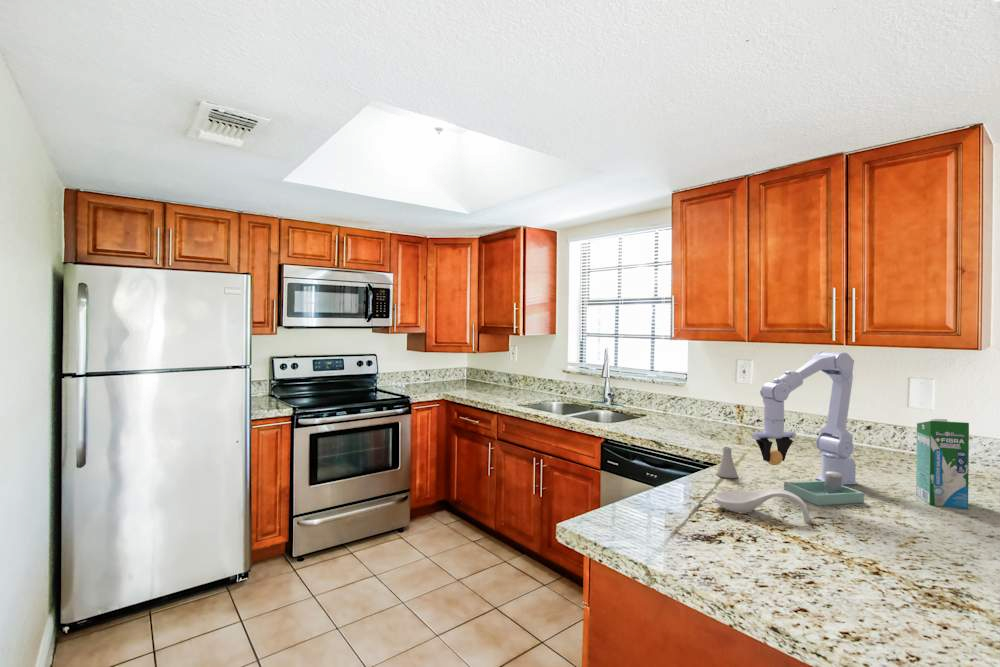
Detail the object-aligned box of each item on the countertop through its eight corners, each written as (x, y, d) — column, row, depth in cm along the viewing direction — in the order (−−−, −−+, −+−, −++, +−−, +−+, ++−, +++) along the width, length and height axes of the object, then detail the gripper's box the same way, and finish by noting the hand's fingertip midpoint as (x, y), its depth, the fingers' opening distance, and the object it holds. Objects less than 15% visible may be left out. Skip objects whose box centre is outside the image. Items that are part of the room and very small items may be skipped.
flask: (740, 479, 172) (741, 450, 172) (718, 478, 173) (718, 449, 173) (735, 473, 179) (735, 445, 179) (713, 472, 180) (714, 444, 180)
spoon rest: (712, 512, 140) (712, 487, 140) (715, 500, 151) (715, 476, 151) (811, 528, 130) (811, 501, 130) (807, 514, 140) (807, 488, 140)
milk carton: (952, 499, 153) (952, 417, 153) (968, 509, 144) (969, 422, 144) (916, 495, 156) (916, 415, 156) (930, 505, 147) (930, 420, 147)
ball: (775, 462, 168) (775, 447, 168) (786, 466, 163) (786, 451, 163) (761, 463, 167) (761, 448, 167) (772, 467, 162) (772, 451, 162)
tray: (828, 489, 162) (828, 480, 162) (863, 503, 149) (863, 492, 149) (784, 491, 159) (784, 482, 159) (816, 505, 146) (817, 495, 146)
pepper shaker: (834, 493, 157) (834, 470, 157) (845, 497, 152) (845, 474, 152) (821, 493, 156) (821, 470, 156) (831, 497, 152) (832, 474, 152)
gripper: (784, 416, 170) (784, 456, 170) (746, 417, 167) (746, 458, 167) (800, 420, 163) (800, 461, 163) (760, 421, 161) (760, 463, 161)
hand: (773, 460), depth 165 cm, fingers closed on ball, 5 cm apart
